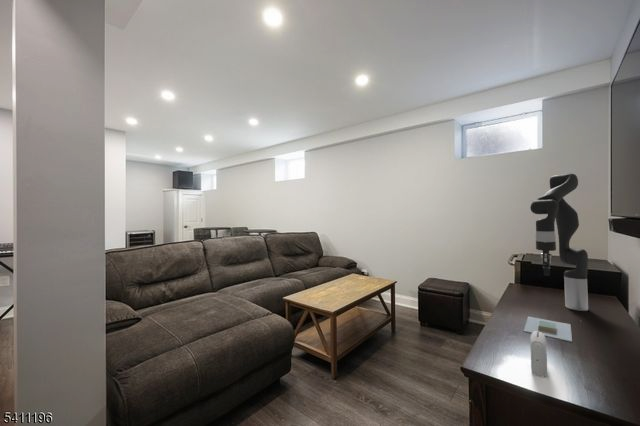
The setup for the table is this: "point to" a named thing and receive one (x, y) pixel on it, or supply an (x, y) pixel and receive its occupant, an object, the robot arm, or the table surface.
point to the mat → (561, 332)
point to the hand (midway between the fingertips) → (546, 275)
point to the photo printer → (538, 353)
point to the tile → (547, 327)
